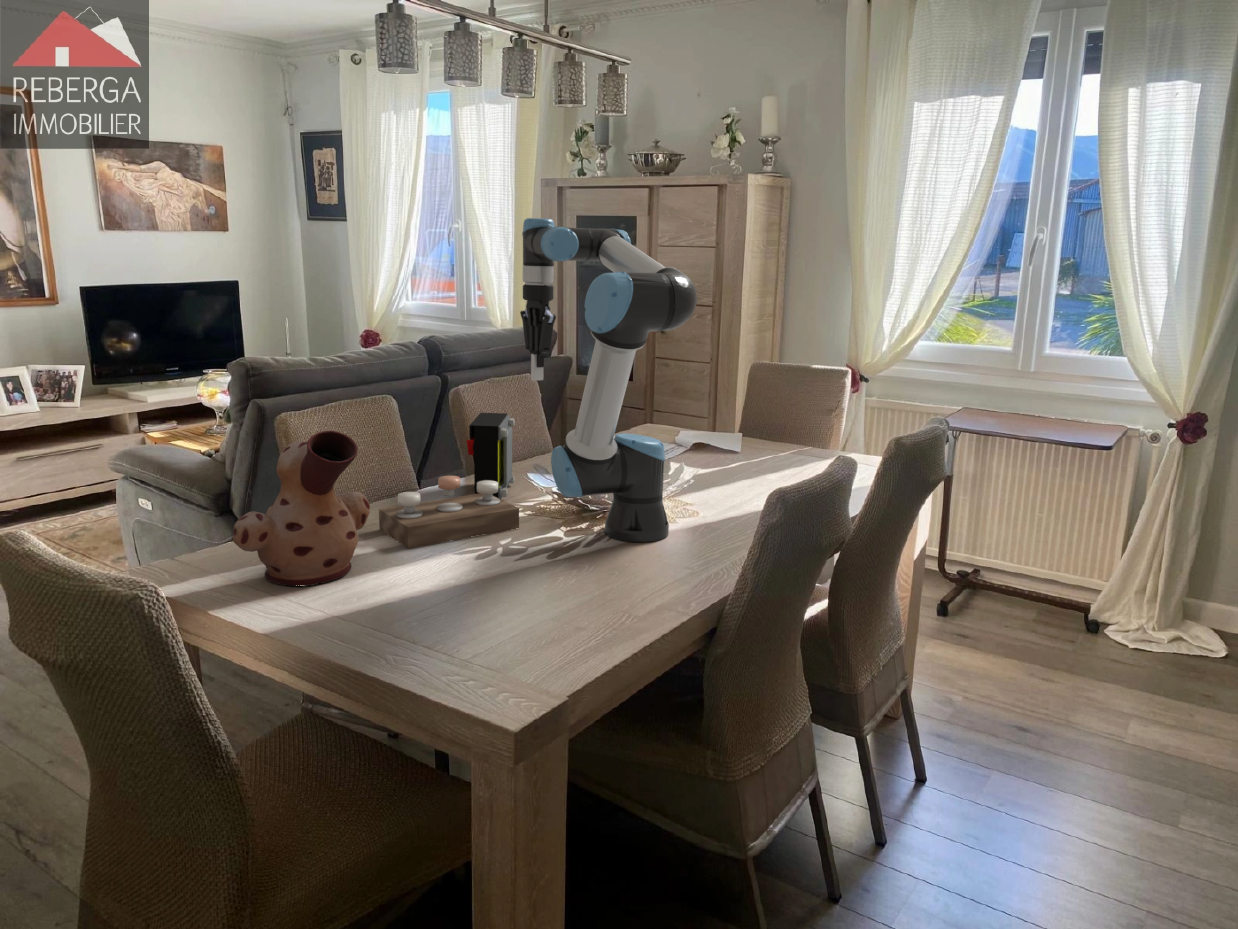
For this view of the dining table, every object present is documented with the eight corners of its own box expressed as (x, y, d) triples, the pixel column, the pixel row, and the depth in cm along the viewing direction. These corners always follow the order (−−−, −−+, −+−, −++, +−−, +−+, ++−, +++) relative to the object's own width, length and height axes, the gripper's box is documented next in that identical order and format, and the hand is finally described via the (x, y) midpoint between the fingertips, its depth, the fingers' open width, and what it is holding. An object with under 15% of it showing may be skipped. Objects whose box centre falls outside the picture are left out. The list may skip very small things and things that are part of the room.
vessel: (332, 545, 203) (326, 411, 196) (408, 566, 192) (404, 424, 185) (217, 584, 179) (205, 433, 171) (296, 610, 168) (287, 450, 160)
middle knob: (464, 496, 214) (463, 479, 213) (444, 499, 211) (444, 482, 210) (454, 491, 218) (454, 474, 217) (434, 493, 215) (434, 477, 214)
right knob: (501, 500, 220) (501, 484, 219) (483, 503, 217) (483, 486, 216) (491, 495, 224) (491, 479, 223) (473, 498, 221) (473, 482, 220)
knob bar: (519, 528, 218) (519, 506, 217) (408, 548, 202) (407, 525, 201) (486, 511, 231) (486, 490, 229) (379, 529, 214) (378, 506, 213)
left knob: (424, 512, 209) (424, 495, 208) (403, 516, 206) (403, 498, 205) (415, 507, 212) (414, 490, 212) (394, 510, 210) (394, 493, 209)
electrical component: (506, 502, 240) (506, 426, 235) (467, 500, 240) (466, 425, 235) (515, 484, 257) (515, 413, 252) (478, 483, 257) (478, 412, 252)
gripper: (565, 285, 222) (564, 382, 228) (537, 282, 232) (536, 375, 238) (539, 285, 217) (538, 384, 223) (511, 282, 228) (510, 377, 233)
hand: (537, 379), depth 230 cm, fingers closed
